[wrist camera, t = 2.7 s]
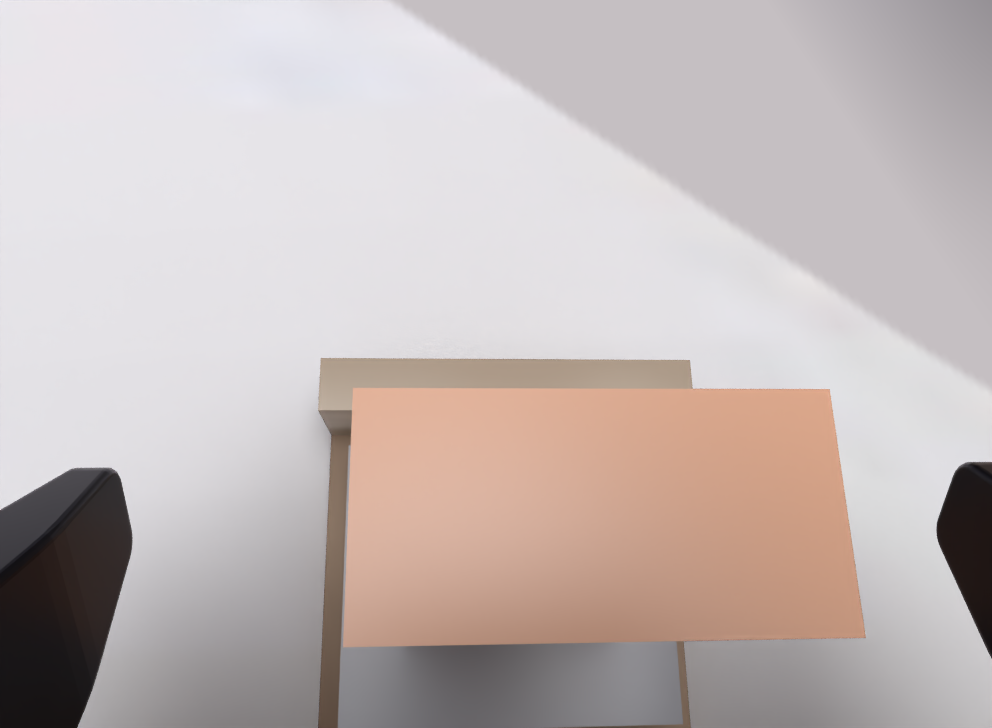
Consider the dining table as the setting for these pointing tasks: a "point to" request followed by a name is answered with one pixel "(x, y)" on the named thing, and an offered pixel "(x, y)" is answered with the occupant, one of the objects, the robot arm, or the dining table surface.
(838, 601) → the fader
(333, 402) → the fader track
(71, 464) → the dining table surface
